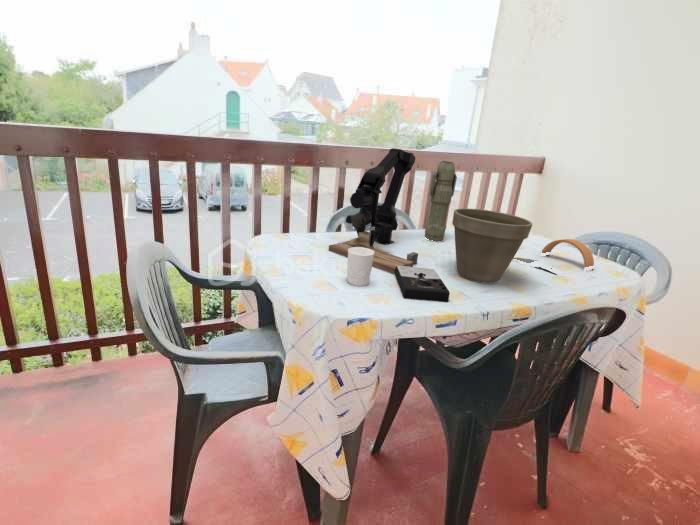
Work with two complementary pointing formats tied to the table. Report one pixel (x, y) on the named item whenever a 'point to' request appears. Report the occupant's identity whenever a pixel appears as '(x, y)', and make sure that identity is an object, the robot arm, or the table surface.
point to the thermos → (440, 200)
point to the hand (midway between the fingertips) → (365, 244)
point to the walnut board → (377, 257)
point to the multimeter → (421, 284)
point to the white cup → (359, 265)
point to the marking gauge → (362, 239)
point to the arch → (580, 246)
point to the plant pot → (487, 242)
